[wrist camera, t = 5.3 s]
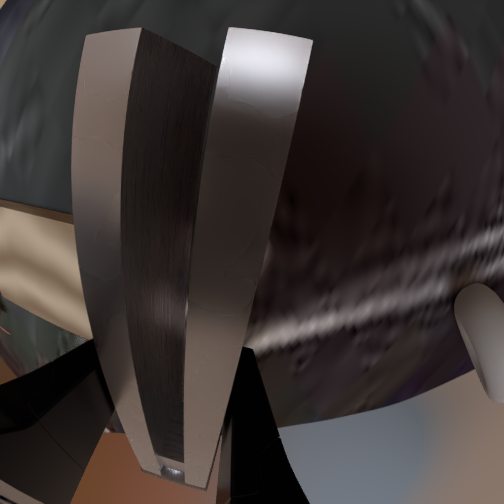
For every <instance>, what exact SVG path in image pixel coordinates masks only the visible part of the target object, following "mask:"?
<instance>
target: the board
mask: <svg viewBox="0 0 504 504" xmlns="http://www.w3.org/2000/svg"><path fill="white" fill-rule="evenodd" d="M0 291H1V294H2V296H3V297H5V298H6V299H8V300H10V301H12V302H13V303H15V304H17V305H19V306H20V307H22V308H24V309H26V310H28V311H30V312H31V313H33V314H35V315H37V316H39V317H41V318H43V319H45V320H47V321H49V322H51V323H53V324H55V325H57V326H59V327H61V328H63V329H66V330H68V331H70V332H72V333H74V334H76V335H79V336H81V337H83V338H86V339H88V340H90V339H92V338H93V335H92V331H91V327H90V323H89V319H88V314H87V310H86V305H85V300H84V295H83V289H82V284H81V278H80V272H79V265H78V258H77V250H76V241H75V231H74V220H73V215H71V214H66V213H62V212H57V211H52V210H48V209H43V208H39V207H34V206H29V205H25V204H20V203H16V202H11V201H7V200H2V199H0Z"/></svg>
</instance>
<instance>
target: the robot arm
mask: <svg viewBox="0 0 504 504" xmlns="http://www.w3.org/2000/svg"><path fill="white" fill-rule="evenodd" d="M114 410H115V406H114V403H113V400H112V398H111V395H110V392H109V389H108V386H107V383H106V380H105V377H104V374H103V371H102V368H101V364H100V361H99V358H98V354H97V350H96V347H95V343H94V339H93V338H92V339H90V340H88V341H86V342H85V343H83V344H81V345H79V346H77V347H76V348H74V349H72V350H70V351H68V352H67V353H65V354H63V355H61V356H60V357H58V358H56V359H54V360H53V361H50V362H49V363H47V364H45V365H43V366H41V367H39V368H37V369H36V370H34V371H32V372H29V373H27V374H25V375H23V376H21V377H18V378H16V379H13V380H11V381H9V382H6V383H4V384H1V385H0V504H70V503H71V500H72V498H73V496H74V494H75V491H76V489H77V487H78V485H79V482H80V480H81V478H82V476H83V473H84V470H85V469H86V467H87V465H88V463H89V460H90V458H91V456H92V454H93V452H94V450H95V448H96V446H97V444H98V442H99V440H100V437H101V435H102V434H103V432H104V430H105V428H106V426H107V424H108V422H109V420H110V418H111V416H112V414H113V412H114ZM279 437H280V435H279V432H278V429H277V426H276V423H275V419H274V416H273V413H272V410H271V407H270V403H269V400H268V397H267V394H266V390H265V387H264V384H263V381H262V377H261V374H260V371H259V367H258V364H257V361H256V357H255V354H254V351H253V349H251V348H246V347H242V350H241V354H240V357H239V361H238V365H237V369H236V373H235V377H234V381H233V385H232V389H231V393H230V397H229V400H228V404H227V408H226V412H225V416H224V424H223V434H222V444H221V454H220V464H219V475H218V485H217V495H216V504H310V503H309V501H308V499H307V497H306V495H305V494H304V492H303V490H302V488H301V486H300V484H299V482H298V480H297V478H296V476H295V474H294V472H293V470H292V468H291V466H290V463H289V461H288V458H287V455H286V453H285V450H284V447H283V444H282V441H281V438H279Z"/></svg>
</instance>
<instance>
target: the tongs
mask: <svg viewBox="0 0 504 504" xmlns="http://www.w3.org/2000/svg"><path fill="white" fill-rule="evenodd" d="M312 43H313V40H309V39H305V38H300V37H295V36H290V35H285V34H279V33H273V32H266V31H259V30H251V29H242V28H231V27H229V29H228V34H227V38H226V42H225V47H224V51H223V56H222V61H221V65H220V70H219V75H218V80H217V85H216V91H215V96H214V101H213V107H212V112H211V118H210V124H209V130H208V136H207V142H206V149H205V155H204V162H203V169H202V176H201V183H200V191H199V199H198V207H197V215H196V224H195V233H194V242H193V252H192V263H191V274H190V286H189V299H188V313H187V330H186V350H185V377H184V402H182V382H183V347H184V324H185V307H186V292H187V278H188V266H189V254H190V244H191V234H192V224H193V215H194V207H195V198H196V190H197V182H198V175H199V168H200V161H201V154H202V147H203V141H204V134H205V128H206V122H207V116H208V111H209V105H210V99H211V94H212V89H213V83H214V78H215V73H216V68H217V66H215V65H214V64H212V63H210V62H208V61H207V60H205V59H203V58H201V57H200V56H198V55H196V54H194V53H192V52H190V51H189V50H187V49H185V48H183V47H181V46H179V45H177V44H175V43H173V42H171V41H169V40H167V39H165V38H163V37H161V36H159V35H157V34H155V33H153V32H150V31H148V30H146V29H144V28H132V29H123V30H115V31H108V32H102V33H96V34H90V35H86V39H85V43H84V48H83V53H82V58H81V64H80V70H79V76H78V83H77V90H76V98H75V108H74V119H73V134H72V204H73V220H74V231H75V241H76V250H77V258H78V265H79V272H80V278H81V284H82V289H83V295H84V300H85V305H86V310H87V314H88V319H89V323H90V327H91V331H92V335H93V339H94V343H95V347H96V350H97V354H98V358H99V361H100V364H101V368H102V371H103V374H104V377H105V380H106V383H107V386H108V389H109V392H110V395H111V398H112V400H113V403H114V406H115V408H116V411H117V413H118V416H119V419H120V421H121V423H122V426H123V428H124V431H125V433H126V435H127V438H128V440H129V442H130V444H131V446H132V448H133V451H134V453H135V455H136V457H137V459H138V461H139V463H140V465H141V469H142V471H143V472H144V473H147V474H150V475H153V476H156V477H159V478H162V479H164V480H168V481H171V482H174V483H177V484H181V485H184V486H188V487H191V488H195V489H199V490H204V491H206V490H207V487H208V484H209V480H210V476H211V472H212V468H213V465H214V461H215V456H216V453H217V449H218V445H219V441H220V436H221V432H222V428H223V427H222V423H223V420H224V416H225V412H226V408H227V404H228V400H229V397H230V393H231V389H232V385H233V381H234V377H235V373H236V369H237V365H238V361H239V357H240V354H241V350H242V346H243V342H244V338H245V334H246V330H247V326H248V322H249V318H250V313H251V309H252V305H253V301H254V297H255V293H256V289H257V285H258V281H259V277H260V273H261V268H262V264H263V260H264V256H265V252H266V248H267V243H268V239H269V235H270V231H271V226H272V222H273V218H274V214H275V209H276V205H277V201H278V197H279V192H280V188H281V184H282V179H283V175H284V171H285V166H286V162H287V157H288V153H289V149H290V144H291V140H292V135H293V131H294V126H295V122H296V117H297V113H298V108H299V104H300V99H301V94H302V90H303V85H304V81H305V76H306V71H307V67H308V62H309V57H310V52H311V48H312Z"/></svg>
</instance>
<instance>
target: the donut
mask: <svg viewBox="0 0 504 504" xmlns="http://www.w3.org/2000/svg"><path fill="white" fill-rule="evenodd" d="M454 314H455V318H456V321H457V324H458V327H459V330H460V332H461V335H462V338H463V340H464V343H465V345H466V348H467V350H468V352H469V355H470V357H471V360H472V362H473V365H474V367H475V370H476V372H477V374H478V377H479V379H480V381H481V383H482V386H483V388H484V390H485V392H486V394H487V395H488V397H489V398H490V399H491V400H492V401H493V402H496V403H500V404H503V403H504V303H503V302H502V300H501V299H500V298H499V297H498V296H497V295H496V293H495V292H494V291H492V290H491V289H490V288H488V287H487V286H485V285H483V284H480V283H475V284H471V285H469V286H467V287H465V288H463V289H462V290H461V291H460V292H459V294H458V295H457V297H456V300H455V303H454Z"/></svg>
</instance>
